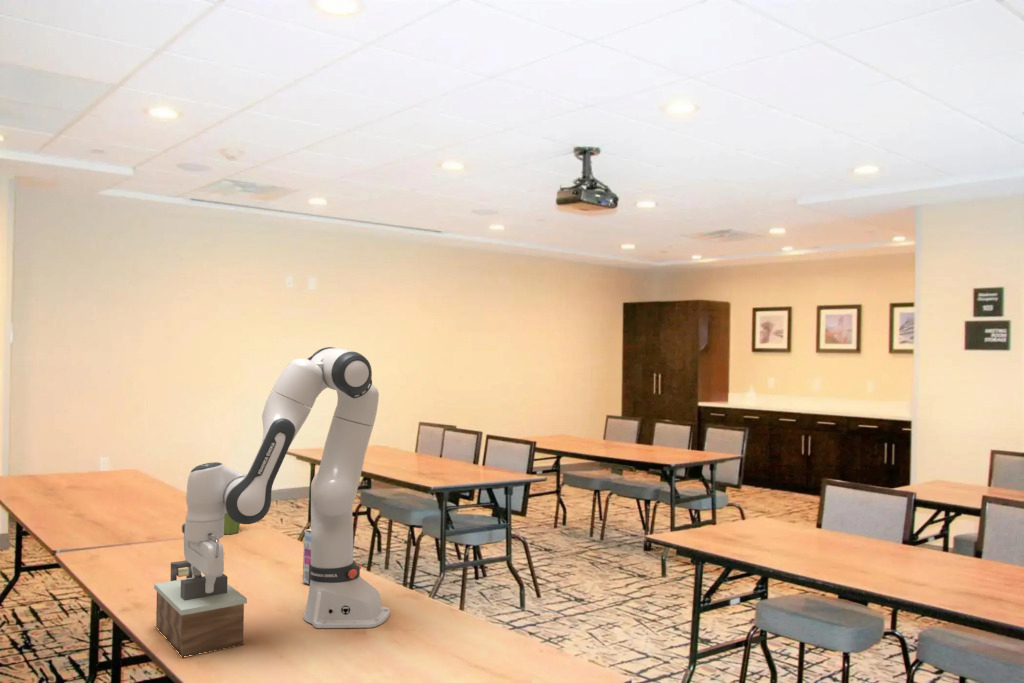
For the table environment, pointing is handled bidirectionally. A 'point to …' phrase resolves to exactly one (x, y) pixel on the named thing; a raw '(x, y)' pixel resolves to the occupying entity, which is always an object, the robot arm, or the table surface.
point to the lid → (199, 595)
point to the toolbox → (199, 624)
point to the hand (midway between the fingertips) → (202, 587)
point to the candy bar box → (306, 555)
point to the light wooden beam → (182, 571)
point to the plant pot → (230, 525)
